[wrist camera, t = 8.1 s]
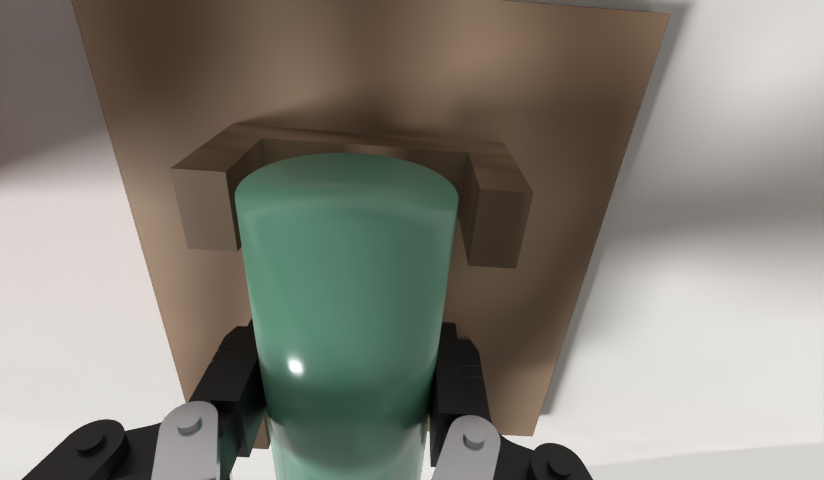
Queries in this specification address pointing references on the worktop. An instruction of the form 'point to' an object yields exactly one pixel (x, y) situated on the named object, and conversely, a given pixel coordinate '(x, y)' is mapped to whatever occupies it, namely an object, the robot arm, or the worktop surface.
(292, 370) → the green bottle
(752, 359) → the worktop surface
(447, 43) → the walnut bottle rack
